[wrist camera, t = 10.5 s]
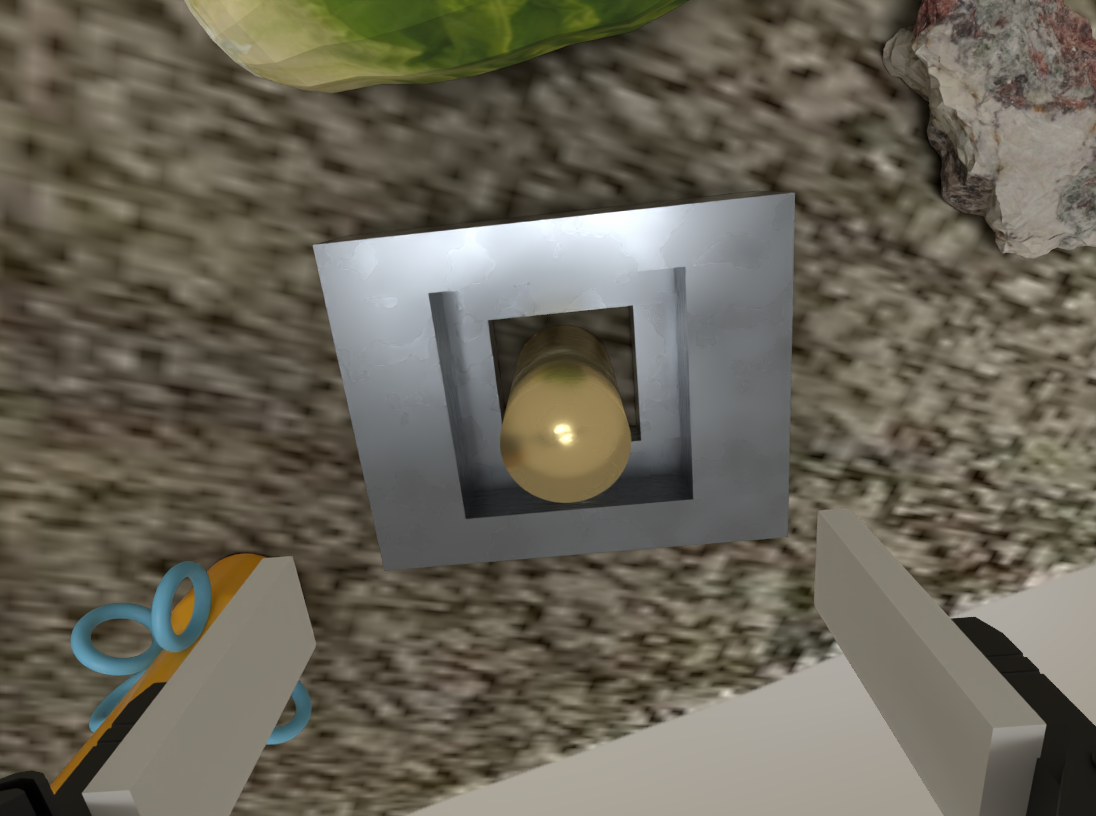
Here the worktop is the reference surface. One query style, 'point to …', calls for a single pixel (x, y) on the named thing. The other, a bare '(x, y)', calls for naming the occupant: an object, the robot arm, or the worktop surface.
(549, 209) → the worktop surface
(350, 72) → the lettuce
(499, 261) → the jig
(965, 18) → the mineral rock
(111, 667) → the cylinder
